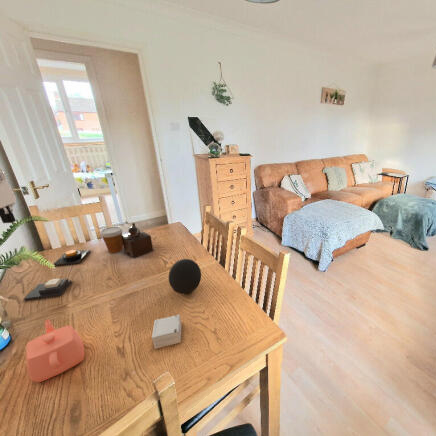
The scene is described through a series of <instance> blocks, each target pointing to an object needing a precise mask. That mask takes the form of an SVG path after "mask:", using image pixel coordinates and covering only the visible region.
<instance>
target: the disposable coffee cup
mask: <svg viewBox="0 0 436 436" xmlns="http://www.w3.org/2000/svg"><path fill="white" fill-rule="evenodd" d="M123 231H124V230H123V229H122V227H120V226H109V227H106V228H103V229H101V230H100V233H99V235H100V236H101V237H102V240H103V242H104V244H105V246H106V248H107V251H108V252H109V253H110V254H117V253H120V252H122V251H124V247H123V243H122V239H121V236H123Z"/></svg>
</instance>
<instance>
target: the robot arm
mask: <svg viewBox="0 0 436 436" xmlns="http://www.w3.org/2000/svg"><path fill="white" fill-rule="evenodd" d="M16 201H17V197H16V195H15V193H14V191H13V189H12V186H11V185H10V183H9V181H8V180H7V177H6V175H5V172H4V170H3V167H2V165H1V164H0V220H1V222H2V223H3V224H13V223H14V222H16V221H17V220H16V217H15V215H14V213H13V212H14V210H13V206H14V205H16Z"/></svg>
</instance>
